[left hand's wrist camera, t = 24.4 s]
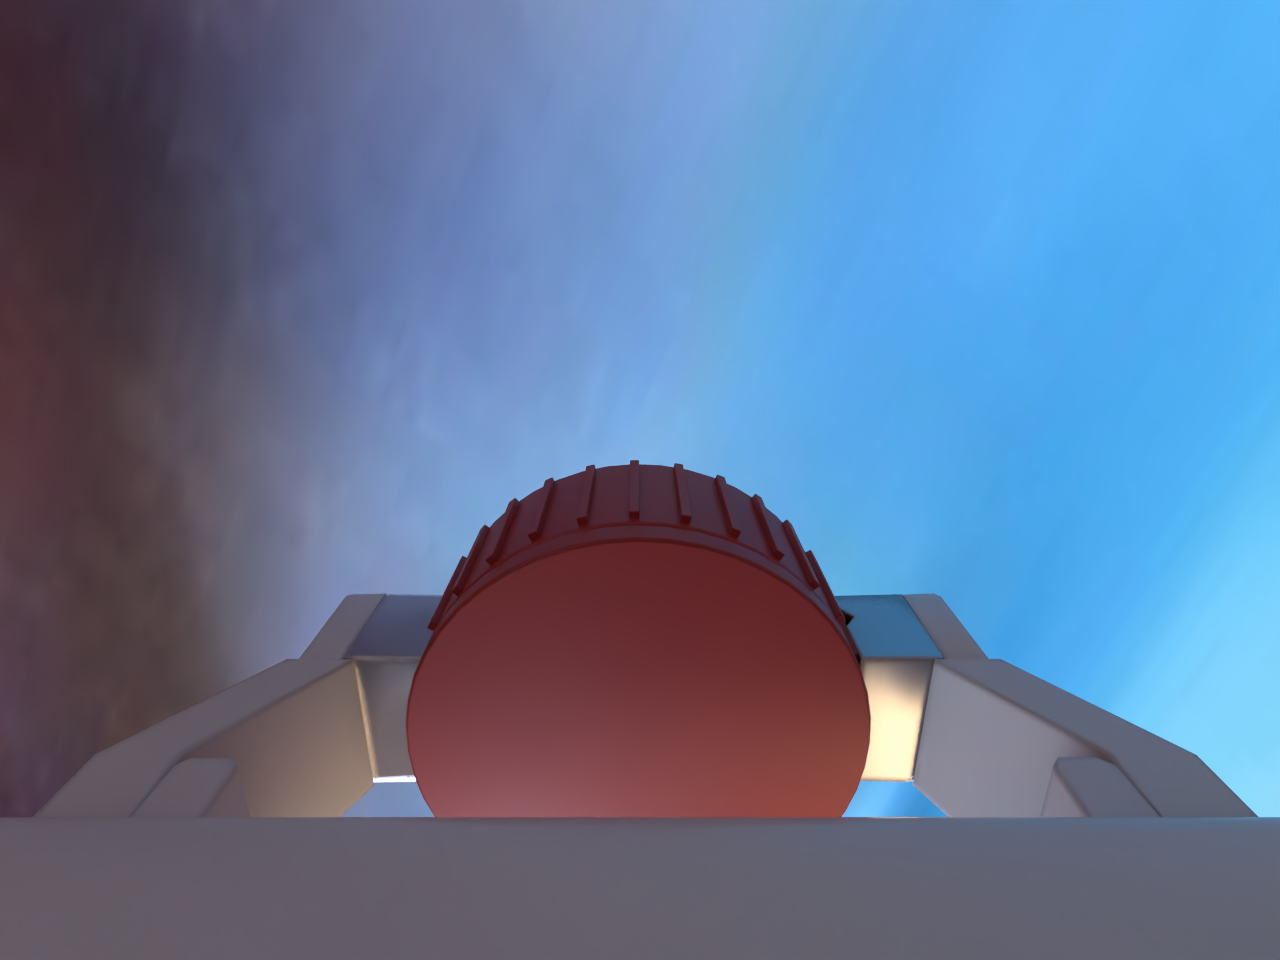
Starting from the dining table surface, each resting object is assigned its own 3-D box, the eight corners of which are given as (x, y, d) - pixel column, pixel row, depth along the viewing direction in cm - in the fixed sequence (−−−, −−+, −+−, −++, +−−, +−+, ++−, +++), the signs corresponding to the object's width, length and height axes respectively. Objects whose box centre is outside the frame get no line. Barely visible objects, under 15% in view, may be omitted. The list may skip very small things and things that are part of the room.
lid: (704, 832, 12) (718, 971, 10) (388, 698, 11) (327, 820, 9) (907, 570, 10) (978, 670, 8) (552, 382, 9) (526, 438, 7)
